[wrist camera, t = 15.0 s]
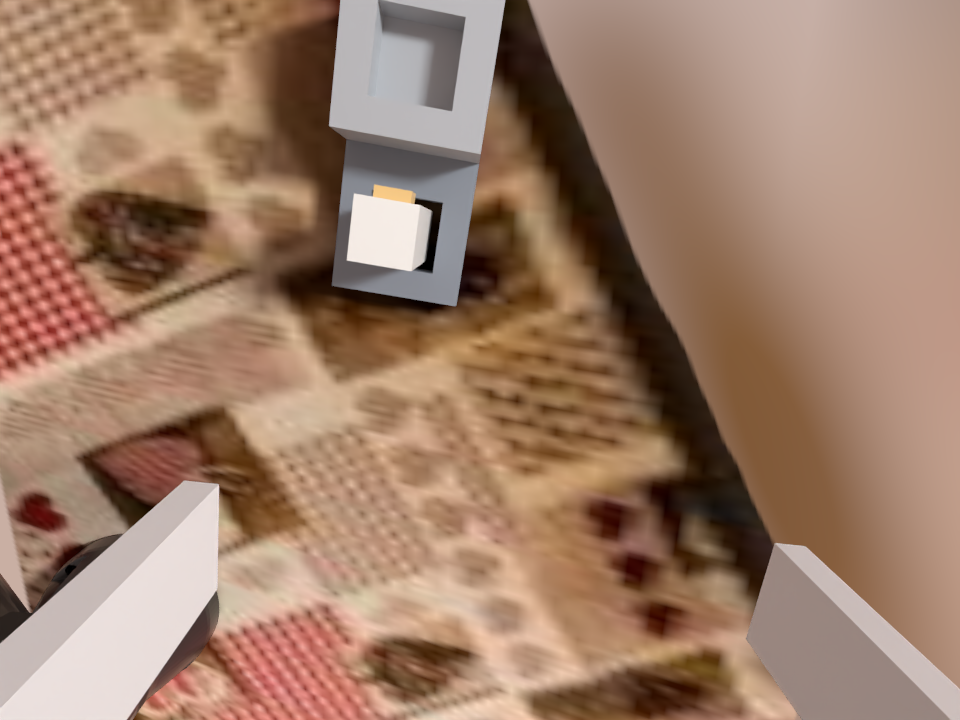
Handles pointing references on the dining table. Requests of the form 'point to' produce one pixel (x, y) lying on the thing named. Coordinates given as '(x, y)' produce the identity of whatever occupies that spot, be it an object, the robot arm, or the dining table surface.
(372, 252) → the plug
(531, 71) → the dining table surface
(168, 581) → the robot arm
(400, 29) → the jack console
